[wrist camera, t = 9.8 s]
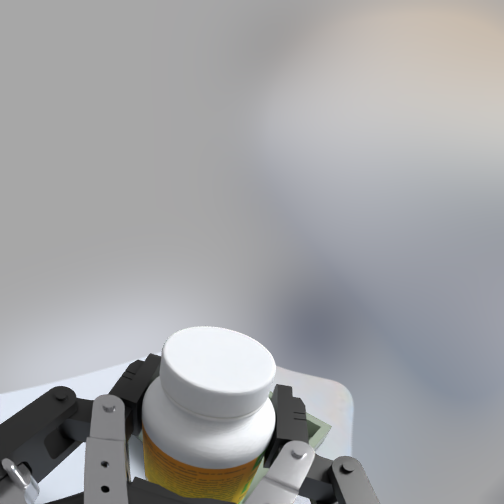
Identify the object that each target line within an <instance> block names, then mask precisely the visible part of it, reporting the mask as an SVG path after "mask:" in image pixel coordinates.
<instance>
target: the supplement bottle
mask: <svg viewBox="0 0 504 504" xmlns="http://www.w3.org/2000/svg"><path fill="white" fill-rule="evenodd" d="M275 371H276V367H275V361H274V359H273V357H272V355H271V354H270V352H269V351H268V350H267V349H266V348H265V347H264V346H262V345H261V344H260V343H259V342H257V341H256V340H254V339H252V338H250V337H248V336H246V335H244V334H241V333H239V332H235V331H232V330H229V329H224V328H219V327H191V328H186V329H183V330H180V331H178V332H176V333H174V334H173V335H171V336H170V337H169V338H168V339H167V340H166V342H165V343H164V345H163V348H162V355H161V365H160V376H159V377H157V378H156V379H155V380H154V381H153V382H152V383H151V384H150V386H149V387H148V389H147V391H146V393H145V395H144V398H143V403H142V434H143V451H144V464H145V476H146V481H149V482H152V483H155V484H159V485H160V486H162V487H164V488H166V489H168V490H170V491H172V492H174V493H176V494H178V495H180V496H182V497H188V498H212V499H217V500H222V501H228V502H234V503H237V504H241V503H242V501H243V500H244V498H245V495H246V493H247V491H248V489H249V487H250V485H251V483H252V481H253V478H254V476H255V474H256V472H257V470H258V468H259V466H260V463H261V461H262V459H263V457H264V455H265V452H266V450H267V448H268V446H269V444H270V441H271V438H272V436H273V433H274V429H275V422H276V418H275V411H274V408H273V405H272V403H271V401H270V399H269V397H268V395H269V392H270V389H271V386H272V383H273V379H274V376H275Z"/></svg>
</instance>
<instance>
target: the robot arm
mask: <svg viewBox="0 0 504 504" xmlns="http://www.w3.org/2000/svg"><path fill="white" fill-rule="evenodd" d="M160 365H161V356H158V355H154V354H149V356H148V357H147V358H146V360H145V361H141V360H137V361H135V362H133V363H131V364H130V365H129V366H128V368H127V369H126V371H125V372H124V373H123V374H122V377H120V379H119V380H118V381H117V383H116V384H115V385H114V387H113V388H112V389H111V391H110V392H109V394H106V395H101V396H99V397H97V398H96V399H95V400H86V399H80V398H76V394H75V392H74V391H73V390H72V389H70V388H68V387H64V386H57V387H54V388H52V389H50V390H49V391H48V392H46V393H45V394H43V395H42V396H40V397H39V398H38V399H36V400H35V401H33V402H32V403H30V404H29V405H28V406H26V407H25V408H23V409H22V410H20V411H19V412H17V413H16V414H15V415H13V416H12V417H10V418H9V419H7V420H6V421H5V422H3V423H2V424H0V504H34V501H35V500H36V498H37V497H38V495H39V486H38V483H39V482H40V481H41V480H42V479H43V478H45V477H46V476H47V475H48V474H49V473H50V472H51V471H52V470H53V469H54V468H56V467H57V466H58V465H59V464H60V463H61V462H62V461H63V460H64V459H65V458H66V457H67V456H69V455H70V454H71V453H72V452H73V451H74V450H75V449H76V448H77V447H78V446H79V445H80V444H81V443H83V442H86V451H85V470H84V492H81V493H78V494H75V495H72V496H69V497H66V498H62V499H59V500H56V501H52V502H49V503H45V504H237V503H234V502H228V501H222V500H217V499H212V498H188V497H182V496H180V495H178V494H176V493H174V492H172V491H170V490H168V489H166V488H164V487H162V486H160V485H159V484H155V483H152V482H149V481H146V480H143V479H141V478H138V477H134V480H133V482H131V476H130V464H129V446H128V440H129V438H130V436H131V434H132V435H135V436H139V434H140V432H141V430H142V403H143V398H144V395H145V393H146V391H147V389H148V387H149V386H150V384H151V383H152V382H153V381H154V380H155V379H156V378H157V377H159V376H160ZM270 401H271V403H272V405H273V408H274V411H275V418H276V422H275V429H274V433H273V436H272V438H271V441H270V444H269V446H268V448H267V450H266V452H265V455H264V463H263V468H270V469H269V470H268V472H267V473H266V475H265V476H264V477H263V478H262V479H261V481H260V482H259V483H258V485H257V486H256V488H255V489H254V491H253V492H252V493H251V495H250V496H249V498H248V499H247V500H246V502H245V503H244V504H293V503H294V501H295V499H296V497H297V495H300V496H303V497H306V498H309V499H310V502H311V504H380V502H379V500H378V498H377V496H376V494H375V492H374V490H373V488H372V486H371V484H370V482H369V480H368V477H367V476H366V473H365V471H364V469H363V467H362V465H361V463H360V462H359V461H358V460H356V459H355V458H352V457H349V456H341V457H338V458H336V459H335V460H334V461H333V460H329V459H326V458H323V457H321V456H319V455H317V454H315V452H314V449H313V448H312V447H311V446H310V445H309V439H308V429H307V421H306V420H307V419H306V409H305V405H304V403H303V402H302V400H301V399H300V398H296V397H293V396H292V387H291V386H285V385H279V384H276V386H275V389H274V392H273V395H272V398H271V400H270Z"/></svg>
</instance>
